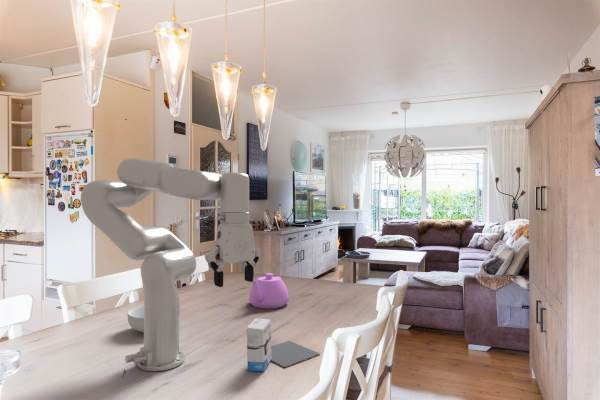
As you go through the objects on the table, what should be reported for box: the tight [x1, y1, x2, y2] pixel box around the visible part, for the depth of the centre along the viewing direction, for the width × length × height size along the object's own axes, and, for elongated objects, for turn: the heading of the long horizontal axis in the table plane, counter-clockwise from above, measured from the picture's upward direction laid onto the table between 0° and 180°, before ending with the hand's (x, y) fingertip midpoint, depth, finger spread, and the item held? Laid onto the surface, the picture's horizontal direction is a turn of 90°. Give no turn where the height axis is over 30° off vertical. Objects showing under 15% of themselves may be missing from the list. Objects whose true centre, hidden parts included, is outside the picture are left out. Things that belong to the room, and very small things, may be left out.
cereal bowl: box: [127, 305, 144, 334], centre depth 137 cm, size 17×17×7 cm
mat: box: [270, 340, 321, 368], centre depth 117 cm, size 14×14×1 cm
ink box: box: [246, 317, 272, 372], centre depth 109 cm, size 8×5×12 cm, turn 168°
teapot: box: [248, 272, 290, 310], centre depth 172 cm, size 25×18×14 cm
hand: (234, 283), depth 103 cm, fingers open, 9 cm apart
